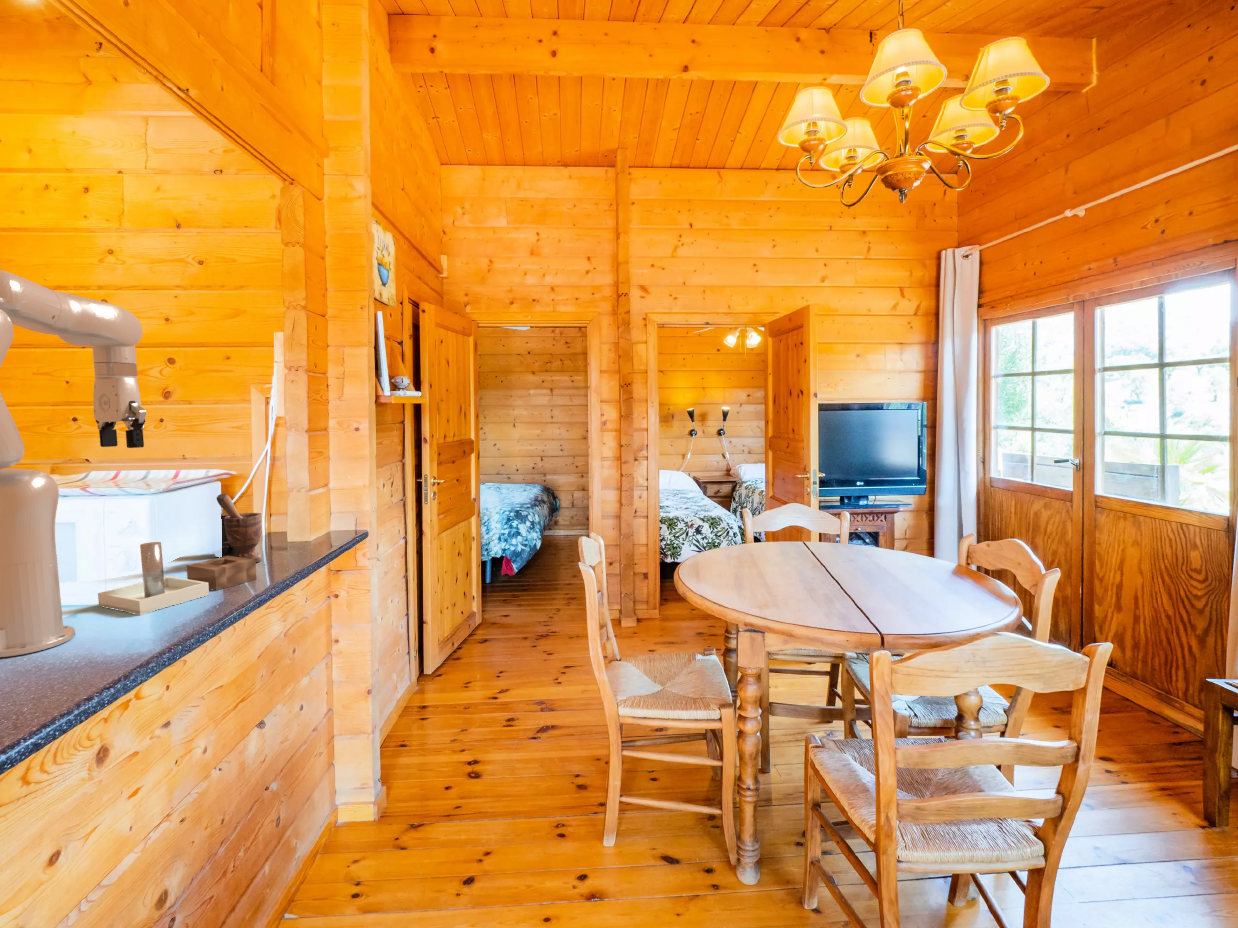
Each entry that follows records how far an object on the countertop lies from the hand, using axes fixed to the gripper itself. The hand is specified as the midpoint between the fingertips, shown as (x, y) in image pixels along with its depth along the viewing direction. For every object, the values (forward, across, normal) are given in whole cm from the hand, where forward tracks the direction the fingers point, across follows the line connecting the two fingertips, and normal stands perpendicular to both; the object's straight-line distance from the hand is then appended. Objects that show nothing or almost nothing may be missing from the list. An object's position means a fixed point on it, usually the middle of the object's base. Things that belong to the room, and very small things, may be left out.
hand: (122, 447), depth 138 cm
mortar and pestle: (+34, +3, +25) cm, 42 cm away
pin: (+32, +15, -4) cm, 36 cm away
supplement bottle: (+34, -10, +30) cm, 46 cm away
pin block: (+33, +15, +11) cm, 38 cm away
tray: (+33, +15, -4) cm, 37 cm away
